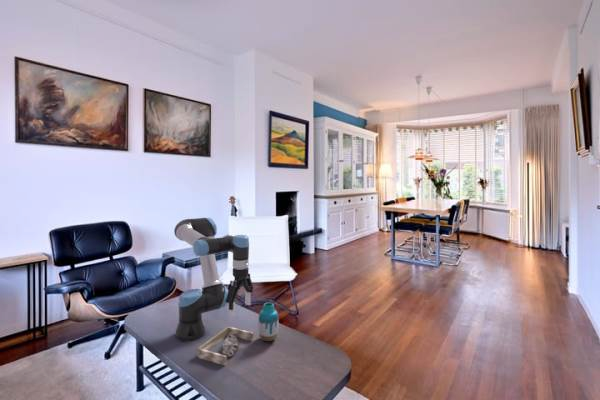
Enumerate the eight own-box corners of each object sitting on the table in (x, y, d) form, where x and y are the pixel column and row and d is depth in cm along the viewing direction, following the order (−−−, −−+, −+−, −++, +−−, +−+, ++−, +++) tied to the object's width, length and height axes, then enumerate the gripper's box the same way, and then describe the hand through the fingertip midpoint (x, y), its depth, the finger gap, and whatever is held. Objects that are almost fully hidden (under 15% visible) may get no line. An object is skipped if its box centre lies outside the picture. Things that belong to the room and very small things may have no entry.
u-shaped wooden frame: (196, 357, 142) (196, 348, 142) (227, 333, 165) (227, 326, 165) (225, 365, 136) (225, 357, 136) (253, 339, 159) (253, 332, 158)
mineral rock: (234, 359, 142) (234, 350, 141) (217, 357, 142) (217, 348, 142) (242, 342, 156) (242, 334, 156) (228, 341, 157) (228, 333, 157)
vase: (275, 345, 153) (275, 309, 152) (255, 343, 155) (255, 307, 154) (280, 335, 164) (281, 301, 162) (262, 333, 166) (262, 299, 164)
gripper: (231, 276, 132) (231, 322, 133) (260, 262, 155) (259, 301, 156) (217, 273, 135) (217, 319, 136) (248, 260, 158) (247, 299, 159)
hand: (240, 310), depth 146 cm, fingers open, 13 cm apart
